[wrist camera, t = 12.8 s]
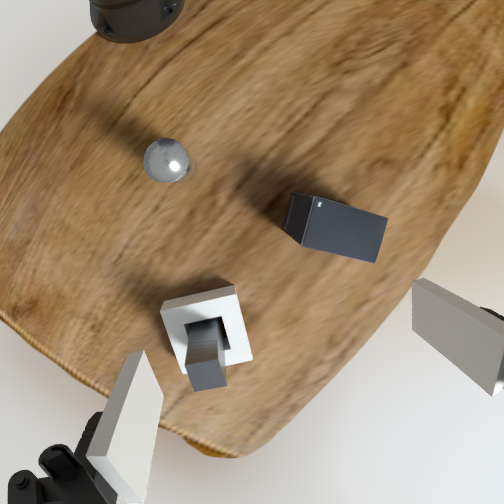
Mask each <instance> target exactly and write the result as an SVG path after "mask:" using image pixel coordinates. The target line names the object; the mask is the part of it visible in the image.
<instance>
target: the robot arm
mask: <svg viewBox="0 0 504 504" xmlns="http://www.w3.org/2000/svg"><path fill="white" fill-rule="evenodd" d="M89 1H90V16H91V21H92V23H93V26H94V27H95V29H96V30H97V31H98V32H99V34H100V35H101V36H103V37H104V38H105V39H107V40H109V41H112V42H116V43H134V42H139V41H143V40H146V39H149V38H151V37H153V36H155V35H157V34H159V33H161V32H162V31H164V30H165V29H167V28H168V27H169V26H170V25H171V24H172V23H173V22H174V21H175V20H176V19H177V18H178V16H179V15H180V13H181V11H182V9H183V6H184V2H185V0H89ZM412 330H413V331H414V332H416V333H417V334H418V335H419V336H421V337H422V338H423V339H424V340H426V341H427V342H428V343H429V344H430V345H432V346H433V347H434V348H435V349H436V350H438V351H439V352H440V353H441V354H443V355H444V356H445V357H446V358H447V359H448V360H450V361H451V362H452V363H453V364H454V365H456V366H457V367H458V368H459V369H460V370H461V371H463V372H464V373H465V374H466V375H467V376H469V377H470V378H471V379H472V380H473V381H474V382H476V383H477V384H478V385H479V386H480V387H481V388H483V389H484V390H485V391H486V392H487V393H488V394H489V395H491V396H494V395H495V394H497V393H498V392H500V391H501V390H502V389H504V317H503V316H502V315H498V313H496V312H494V311H492V310H491V309H487V308H483V307H477V306H476V305H474V304H472V303H470V302H468V301H466V300H464V299H463V298H461V297H459V296H457V295H455V294H454V293H452V292H450V291H448V290H446V289H444V288H442V287H440V286H438V285H437V284H435V283H433V282H431V281H428V280H427V279H425V278H421V279H418V280H415V281H413V282H412ZM163 398H164V396H163V393H162V391H161V389H160V387H159V385H158V382H157V380H156V378H155V376H154V373H153V371H152V369H151V366H150V364H149V362H148V359H147V357H146V354H145V352H144V351H138V352H132V353H129V355H128V357H127V359H126V361H125V363H124V365H123V368H122V370H121V372H120V374H119V377H118V379H117V381H116V383H115V386H114V388H113V390H112V393H111V395H110V397H109V399H108V402H107V404H106V407H105V409H104V411H103V412H96V413H95V414H94V415H93V416H92V417H91V418H90V419H89V420H88V423H87V425H86V427H85V431H84V432H83V434H82V438H81V439H80V441H79V443H78V445H77V448H76V450H75V452H74V454H73V452H72V451H71V450H70V449H69V447H68V446H66V445H63V444H56V445H53V446H50V447H48V448H47V449H45V450H44V451H43V452H42V454H41V455H40V458H39V460H38V461H39V466H40V467H41V468H42V469H43V470H44V472H45V473H46V474H47V475H48V476H49V477H45V478H39V479H38V478H37V477H36V476H35V475H34V474H33V473H32V472H31V471H29V470H21V471H19V472H16V473H15V474H14V475H13V476H12V477H11V478H10V480H9V483H8V504H116V501H117V496H119V497H120V498H121V499H122V500H123V501H124V502H125V503H129V504H131V503H132V504H145V498H146V491H147V485H148V479H149V473H150V467H151V461H152V456H153V450H154V444H155V439H156V434H157V428H158V423H159V418H160V413H161V408H162V403H163Z"/></svg>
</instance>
